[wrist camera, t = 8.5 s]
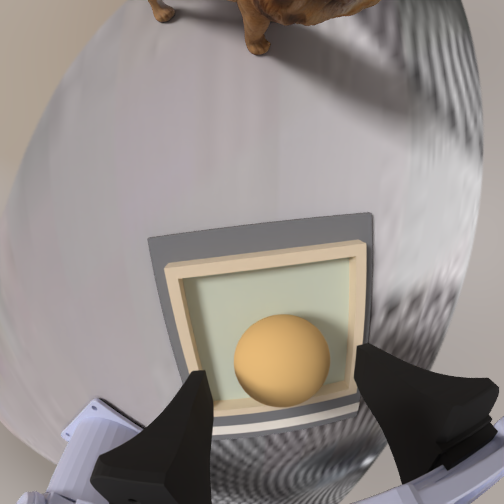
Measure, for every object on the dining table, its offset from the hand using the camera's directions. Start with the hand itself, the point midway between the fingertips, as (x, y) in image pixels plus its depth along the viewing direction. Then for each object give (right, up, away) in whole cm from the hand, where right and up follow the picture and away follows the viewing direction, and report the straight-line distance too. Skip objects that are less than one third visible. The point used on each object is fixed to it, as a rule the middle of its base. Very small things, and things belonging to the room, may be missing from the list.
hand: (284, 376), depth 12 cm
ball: (0, 0, +1) cm, 1 cm away
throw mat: (0, 0, +4) cm, 4 cm away
